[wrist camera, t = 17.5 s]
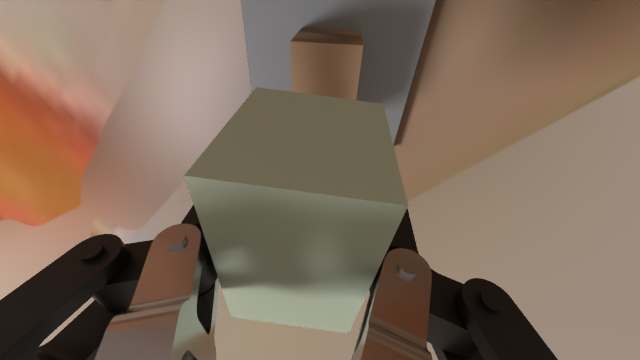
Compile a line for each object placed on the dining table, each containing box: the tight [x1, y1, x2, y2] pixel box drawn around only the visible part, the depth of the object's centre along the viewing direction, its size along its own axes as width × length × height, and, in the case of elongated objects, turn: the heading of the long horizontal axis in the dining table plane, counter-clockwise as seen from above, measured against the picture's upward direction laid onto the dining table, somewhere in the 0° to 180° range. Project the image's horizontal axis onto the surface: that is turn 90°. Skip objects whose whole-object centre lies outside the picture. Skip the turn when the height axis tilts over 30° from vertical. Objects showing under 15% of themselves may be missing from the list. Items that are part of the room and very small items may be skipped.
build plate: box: [241, 0, 436, 145], centre depth 22 cm, size 14×14×1 cm
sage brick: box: [184, 87, 408, 333], centre depth 9 cm, size 4×7×5 cm, turn 175°
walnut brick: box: [290, 28, 363, 100], centre depth 19 cm, size 4×7×5 cm, turn 178°
